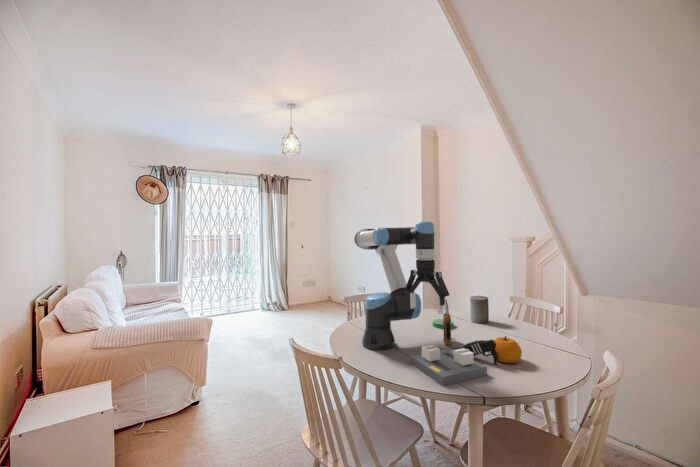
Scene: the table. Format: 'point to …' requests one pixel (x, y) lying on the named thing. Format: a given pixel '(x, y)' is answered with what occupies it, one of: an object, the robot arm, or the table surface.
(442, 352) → the switch panel
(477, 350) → the gun
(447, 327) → the brown upright pointed stick
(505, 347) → the fruit
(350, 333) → the table surface
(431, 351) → the tab
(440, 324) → the tape roll
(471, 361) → the tab
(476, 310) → the pillar candle
